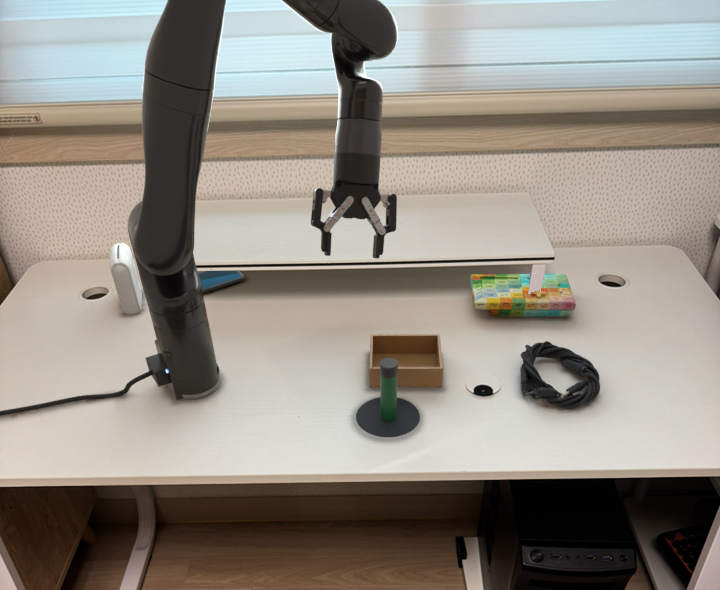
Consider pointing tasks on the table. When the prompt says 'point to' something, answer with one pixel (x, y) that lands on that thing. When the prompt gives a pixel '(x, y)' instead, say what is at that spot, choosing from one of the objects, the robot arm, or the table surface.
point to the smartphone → (219, 279)
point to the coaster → (376, 426)
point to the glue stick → (388, 389)
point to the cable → (569, 360)
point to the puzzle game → (522, 295)
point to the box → (408, 358)
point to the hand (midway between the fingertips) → (352, 256)
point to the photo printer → (125, 278)
